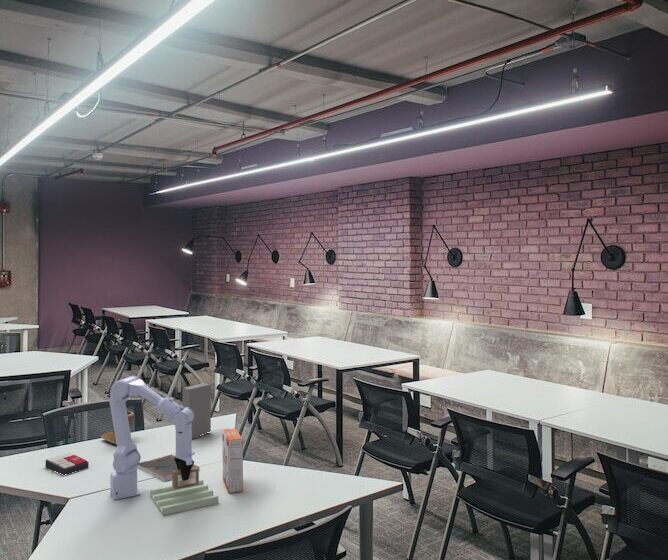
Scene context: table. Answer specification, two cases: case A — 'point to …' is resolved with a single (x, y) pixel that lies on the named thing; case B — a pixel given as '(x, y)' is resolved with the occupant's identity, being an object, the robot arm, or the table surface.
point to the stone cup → (111, 435)
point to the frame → (179, 483)
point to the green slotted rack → (182, 498)
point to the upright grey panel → (199, 407)
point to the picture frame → (160, 467)
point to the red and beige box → (66, 463)
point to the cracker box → (232, 460)
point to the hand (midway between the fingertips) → (183, 478)
